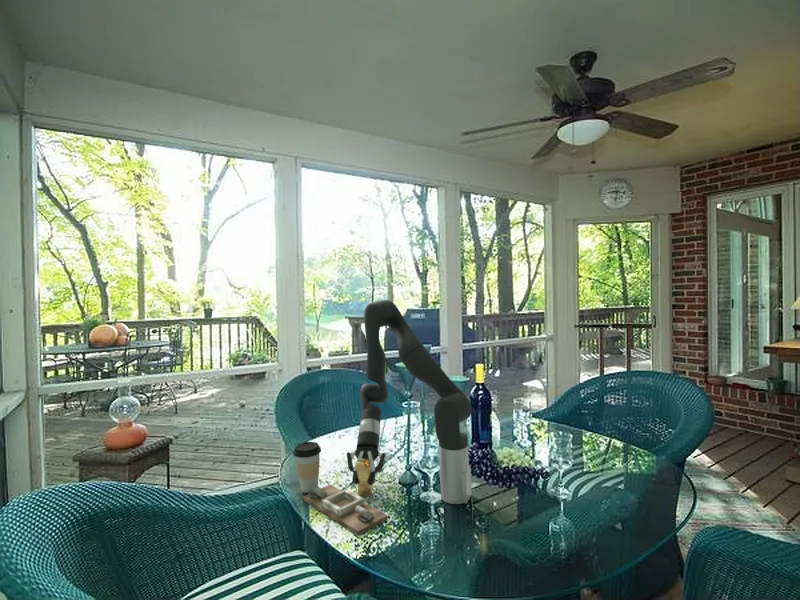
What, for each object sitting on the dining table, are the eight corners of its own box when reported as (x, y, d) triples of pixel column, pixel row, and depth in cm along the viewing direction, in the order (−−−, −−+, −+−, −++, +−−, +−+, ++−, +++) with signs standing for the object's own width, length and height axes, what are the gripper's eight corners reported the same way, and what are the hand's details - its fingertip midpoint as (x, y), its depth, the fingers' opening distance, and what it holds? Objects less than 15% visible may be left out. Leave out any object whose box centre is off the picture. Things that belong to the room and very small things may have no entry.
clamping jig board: (387, 519, 134) (386, 506, 133) (358, 535, 126) (357, 522, 126) (330, 487, 155) (329, 477, 154) (302, 500, 147) (302, 488, 147)
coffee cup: (313, 479, 161) (310, 438, 160) (328, 487, 155) (326, 445, 154) (290, 489, 155) (287, 446, 154) (305, 498, 148) (302, 454, 147)
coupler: (374, 491, 151) (372, 459, 150) (368, 497, 147) (366, 465, 146) (362, 489, 153) (360, 457, 152) (355, 495, 148) (353, 463, 148)
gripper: (347, 430, 157) (339, 479, 146) (387, 430, 155) (382, 480, 144) (351, 439, 162) (344, 487, 151) (390, 439, 160) (386, 488, 149)
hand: (363, 484), depth 148 cm, fingers closed on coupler, 4 cm apart
